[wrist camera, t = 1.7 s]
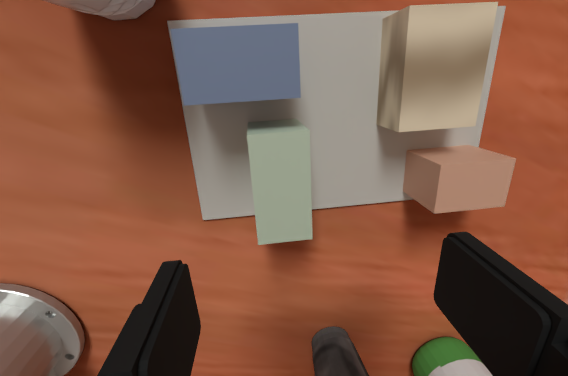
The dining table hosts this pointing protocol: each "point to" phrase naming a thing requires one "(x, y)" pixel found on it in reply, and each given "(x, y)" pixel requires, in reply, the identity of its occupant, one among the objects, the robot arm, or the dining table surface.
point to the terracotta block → (457, 178)
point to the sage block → (281, 180)
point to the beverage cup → (336, 354)
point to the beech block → (434, 65)
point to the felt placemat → (318, 119)
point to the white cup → (108, 7)
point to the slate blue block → (237, 63)
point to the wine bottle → (447, 359)
